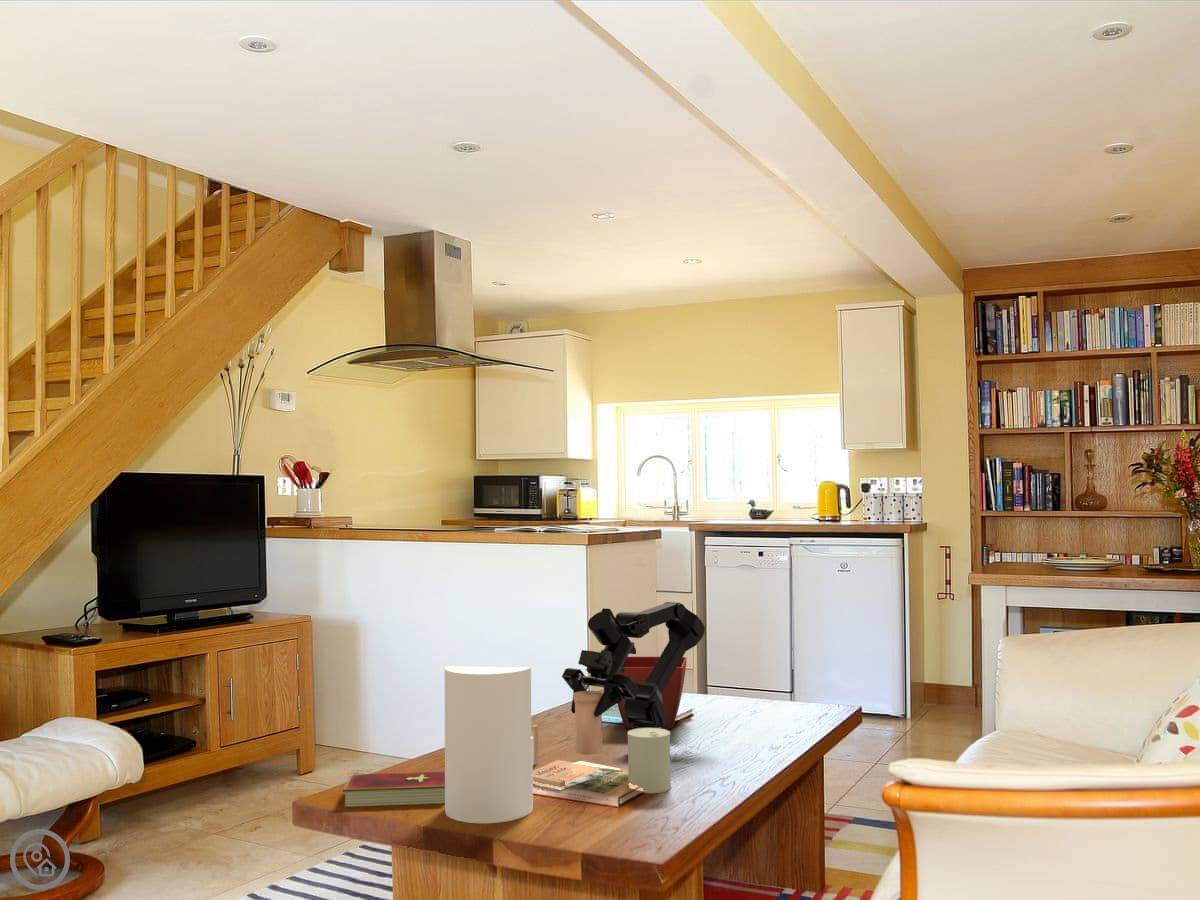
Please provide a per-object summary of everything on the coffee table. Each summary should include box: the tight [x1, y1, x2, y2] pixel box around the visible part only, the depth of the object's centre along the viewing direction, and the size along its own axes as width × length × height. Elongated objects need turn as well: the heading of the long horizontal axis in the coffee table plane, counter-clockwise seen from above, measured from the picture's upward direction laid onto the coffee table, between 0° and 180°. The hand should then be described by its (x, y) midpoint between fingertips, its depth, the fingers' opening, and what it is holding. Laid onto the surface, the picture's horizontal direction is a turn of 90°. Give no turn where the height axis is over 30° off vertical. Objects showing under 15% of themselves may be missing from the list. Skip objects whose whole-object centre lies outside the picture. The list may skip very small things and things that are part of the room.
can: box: [626, 728, 672, 794], centre depth 221 cm, size 9×9×12 cm
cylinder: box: [444, 665, 534, 824], centre depth 206 cm, size 17×17×28 cm
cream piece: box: [531, 724, 621, 787], centre depth 232 cm, size 21×19×9 cm
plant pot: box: [616, 656, 688, 730], centre depth 281 cm, size 19×19×17 cm
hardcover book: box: [342, 770, 445, 808], centre depth 215 cm, size 12×21×4 cm, turn 95°
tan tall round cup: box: [572, 690, 604, 756], centre depth 235 cm, size 7×7×13 cm
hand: (583, 714), depth 234 cm, fingers closed on tan tall round cup, 6 cm apart
